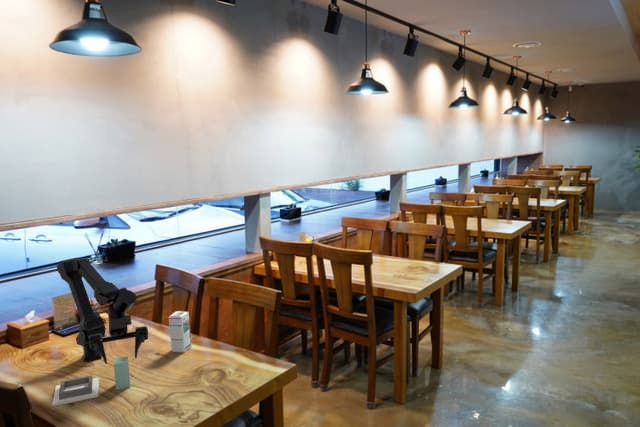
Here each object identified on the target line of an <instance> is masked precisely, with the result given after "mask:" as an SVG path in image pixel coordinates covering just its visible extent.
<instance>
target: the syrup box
mask: <svg viewBox="0 0 640 427" xmlns="http://www.w3.org/2000/svg"><path fill="white" fill-rule="evenodd" d="M189 314H190V313H189V311H183V310H177V311H174V312H173V313H172V314H171V315H169V316H168V325H169V326H168V327H169V334H170V336H169V338H170V347H171V352H174V353H185V352H187V351H188V350H189V349H190V348H191V347H192V338H191V336H192V335H191V334H192V333H191V325H190V315H189Z"/></svg>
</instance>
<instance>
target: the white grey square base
mask: <svg viewBox="0 0 640 427" xmlns="http://www.w3.org/2000/svg"><path fill="white" fill-rule="evenodd" d="M99 384H100V377H94V378H93V375H92V374H91V375H86V376H81V377H76V378H71V379H65V380H61V381H60V384H58V385H55V388H54V389H55V390H54V394H53V399H52V407H56V406H61V405H66V404H70V403H75V402H80V401H84V400H85V401H86V400H89V399H93V398H94V399H95V398H98V397H99V390H100V386H99Z"/></svg>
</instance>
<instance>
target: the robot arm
mask: <svg viewBox="0 0 640 427" xmlns="http://www.w3.org/2000/svg"><path fill="white" fill-rule="evenodd" d="M56 270H57V273H58V274H59V276H60V278H61V280H63V281H65V282H66V283H67V284H68V286H69V287H68V288H69V289H70V293H71V295H72V298H73V301H74V304H75V307H76V310H77V312H78V314H79V318H80V320H79V321H80V322H79V325H78V330H79V332H78V335H77V336H76V338H75V341H76V344H77V345H78V346H81V347H82V349H83V355H82V362H88V361H95V360H100V359H102V360H103V361H104V363H105V365H107V364H108V360H107V356H106V352H105V351H106V350H105V347H104V343H110V342H115V341H121V340H126V339H131V338H134V342H135V343H134V359H137V358H138V355H139V354H138V353H139V350H140V347H141V344H142V343H145V341H146V340H148V339H149V330H148V327H147V326H146V325H145V326H143V325H142V326H136V327H135V331H129V330H128V326H130V325H132V316H131V314H127V313H126V312H129V310H130V309H131V308H132V306H133V305H134V304H135V303H136V301H137V294H136V293H135V292H133V291H131V290H130V289H129V290H128V289H127V288H126V287H122V288H119V287H117V285H116V284H114V283H113V282H110V281H107V280H106V279H104V277H103V276H102V275H101V274H100V273H99V272H98V270H96V268H95V267H94V266H93V264H91V261H90V259H89V258H88V257H83V258H78V257H74V258H69V259H64V260H60V261H59V262H58V264H57V266H56ZM83 279H84V280H85V282H86V283H87V284H88V285H89V286H90V288H92V290H93V297H94V298H95V301H96V302H97V303H98V305H99V306H106V305H108V306H107V310H106V314H107V317H108V333H109V335H106V331H107V330H106V329H107V328H106V325H105V324H104V321H103V318H102V317H101V316H97V315H96V314H95V313H94V309H93V306H92V303H91V301H90V298H89V294H88V292H87V288H86V286H85V284H84V280H83ZM128 331H129V332H128Z"/></svg>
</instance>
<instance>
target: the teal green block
mask: <svg viewBox="0 0 640 427" xmlns="http://www.w3.org/2000/svg"><path fill="white" fill-rule="evenodd" d="M113 368H114V369H113V371H114V380H115V391H118V390H123V389H128V388H131V379H130V378H131V376H130V368H129V357H128V356H122V357H121V356H120V357H117V358H113Z"/></svg>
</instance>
